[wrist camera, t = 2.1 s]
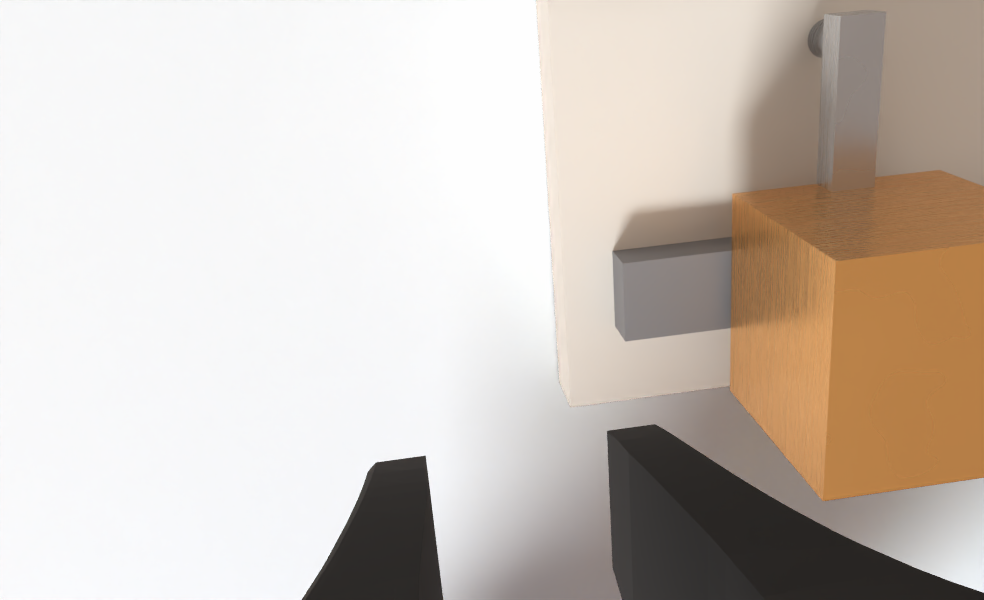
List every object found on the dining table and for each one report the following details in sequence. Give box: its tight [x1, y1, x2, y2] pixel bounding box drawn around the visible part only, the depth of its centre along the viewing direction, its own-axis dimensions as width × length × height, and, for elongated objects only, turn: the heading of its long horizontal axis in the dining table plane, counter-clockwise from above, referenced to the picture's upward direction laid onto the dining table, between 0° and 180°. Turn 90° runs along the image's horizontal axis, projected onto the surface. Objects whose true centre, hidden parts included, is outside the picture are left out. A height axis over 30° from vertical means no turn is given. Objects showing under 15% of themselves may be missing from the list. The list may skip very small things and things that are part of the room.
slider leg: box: [730, 10, 984, 501], centre depth 16 cm, size 4×7×5 cm, turn 4°
